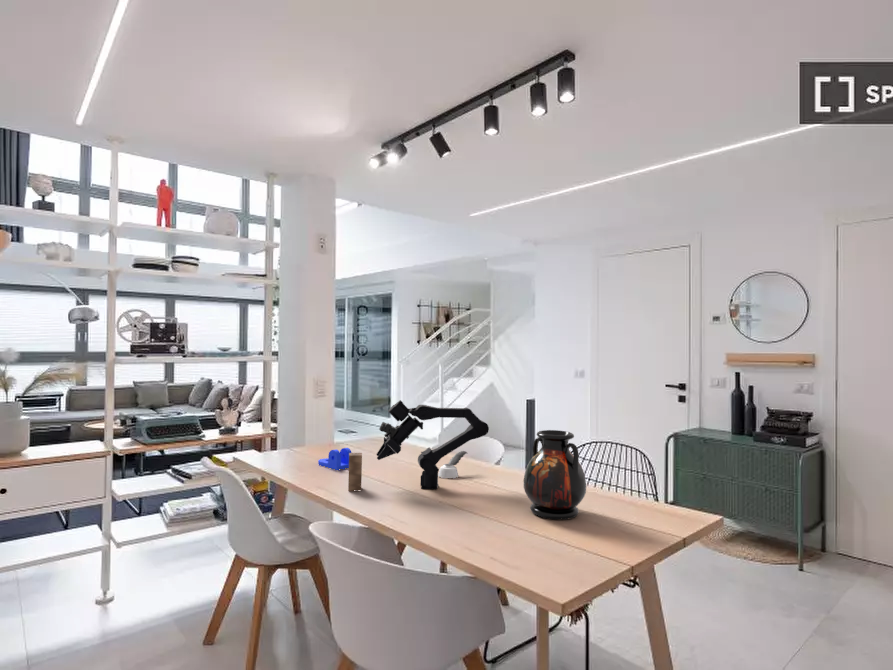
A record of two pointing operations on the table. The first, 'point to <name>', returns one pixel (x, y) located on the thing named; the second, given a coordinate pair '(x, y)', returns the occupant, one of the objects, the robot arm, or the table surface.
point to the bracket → (336, 459)
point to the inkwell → (451, 466)
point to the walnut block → (355, 471)
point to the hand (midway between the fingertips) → (377, 457)
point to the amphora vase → (554, 476)
